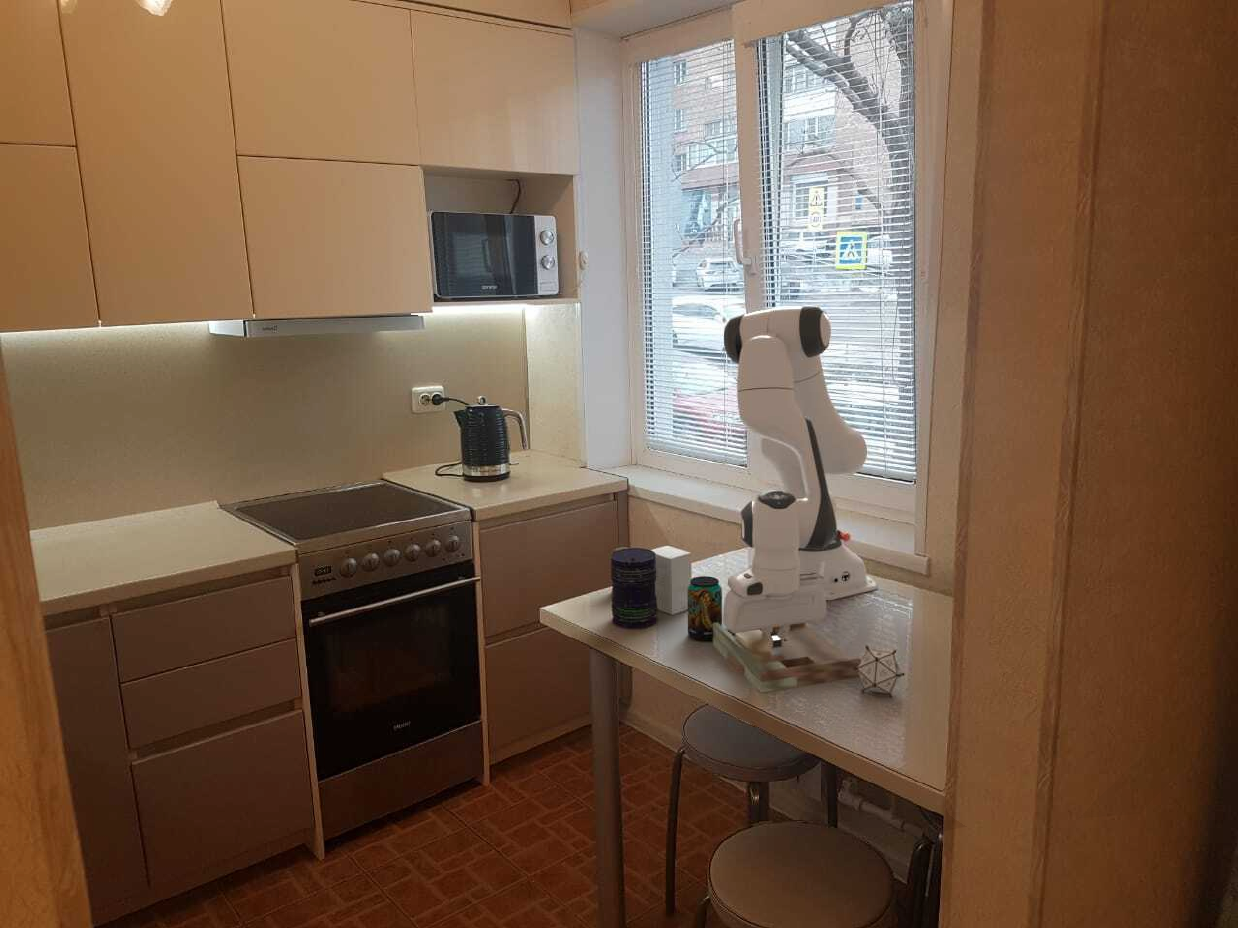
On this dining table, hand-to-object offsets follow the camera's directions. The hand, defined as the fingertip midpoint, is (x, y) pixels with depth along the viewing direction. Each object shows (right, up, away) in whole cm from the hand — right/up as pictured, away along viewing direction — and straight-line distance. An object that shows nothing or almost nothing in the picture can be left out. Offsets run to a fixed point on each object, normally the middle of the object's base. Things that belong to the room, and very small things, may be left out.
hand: (775, 646), depth 176 cm
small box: (-18, +3, +31) cm, 36 cm away
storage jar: (-26, +1, +23) cm, 35 cm away
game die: (+16, -6, -13) cm, 21 cm away
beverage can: (-12, -1, +14) cm, 19 cm away
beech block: (-4, -2, -1) cm, 5 cm away
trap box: (+2, -3, +1) cm, 4 cm away
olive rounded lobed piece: (-29, +4, +40) cm, 49 cm away
